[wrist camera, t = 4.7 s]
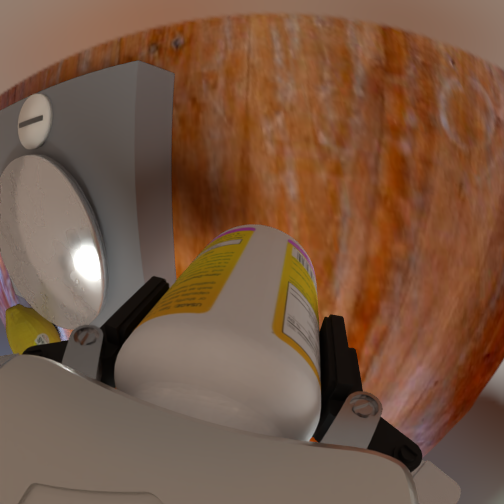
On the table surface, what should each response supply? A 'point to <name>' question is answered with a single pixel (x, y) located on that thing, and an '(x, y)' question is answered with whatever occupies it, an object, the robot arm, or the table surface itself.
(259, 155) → the table surface
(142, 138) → the kitchen scale
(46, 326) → the lemon
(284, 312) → the supplement bottle
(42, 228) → the scale pan
